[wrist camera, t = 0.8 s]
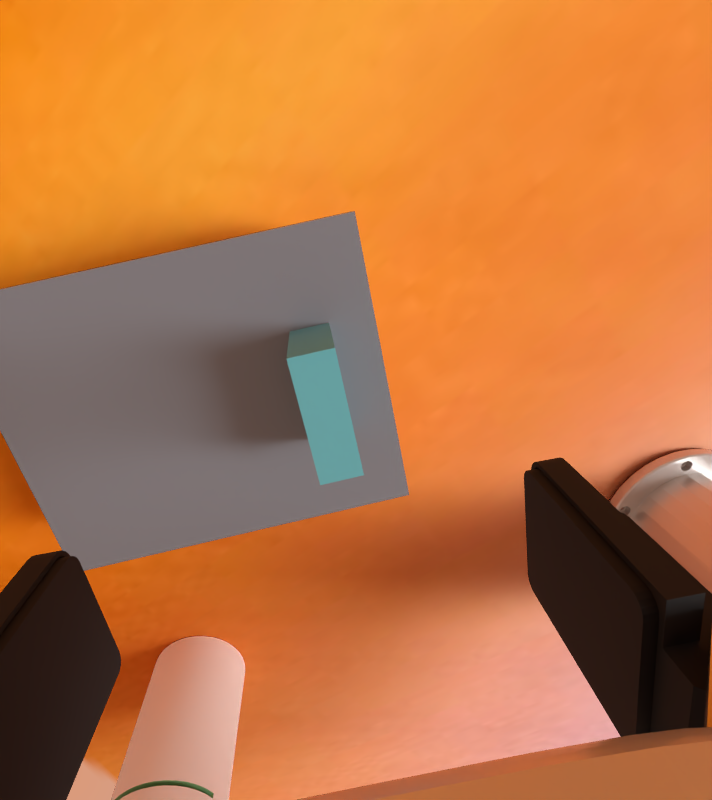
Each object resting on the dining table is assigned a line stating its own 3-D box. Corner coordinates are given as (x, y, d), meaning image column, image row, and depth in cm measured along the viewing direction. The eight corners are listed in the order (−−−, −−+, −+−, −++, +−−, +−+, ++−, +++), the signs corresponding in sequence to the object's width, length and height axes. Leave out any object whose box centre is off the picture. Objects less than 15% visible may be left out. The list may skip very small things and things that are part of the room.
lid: (402, 477, 30) (429, 549, 24) (88, 550, 30) (28, 644, 23) (350, 211, 25) (367, 210, 18) (-38, 297, 24) (-163, 327, 18)
